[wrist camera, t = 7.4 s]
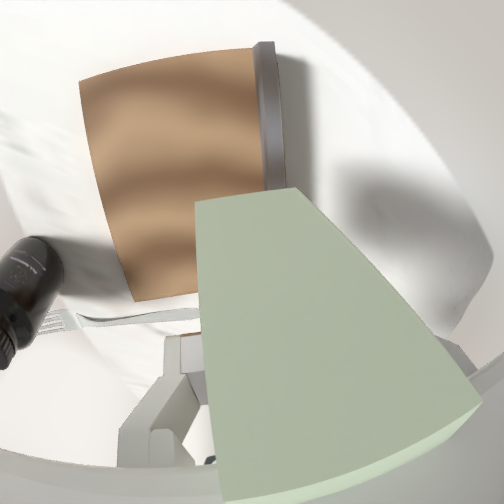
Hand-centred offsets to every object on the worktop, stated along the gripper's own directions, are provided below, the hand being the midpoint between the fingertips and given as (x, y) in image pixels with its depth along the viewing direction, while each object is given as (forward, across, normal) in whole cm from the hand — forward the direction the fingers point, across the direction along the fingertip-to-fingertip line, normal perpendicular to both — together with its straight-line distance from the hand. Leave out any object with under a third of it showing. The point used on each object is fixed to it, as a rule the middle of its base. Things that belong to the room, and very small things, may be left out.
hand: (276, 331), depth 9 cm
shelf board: (+17, +3, -1) cm, 17 cm away
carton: (+4, 0, 0) cm, 4 cm away
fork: (+17, +13, +12) cm, 25 cm away
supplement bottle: (+17, +20, +4) cm, 27 cm away
